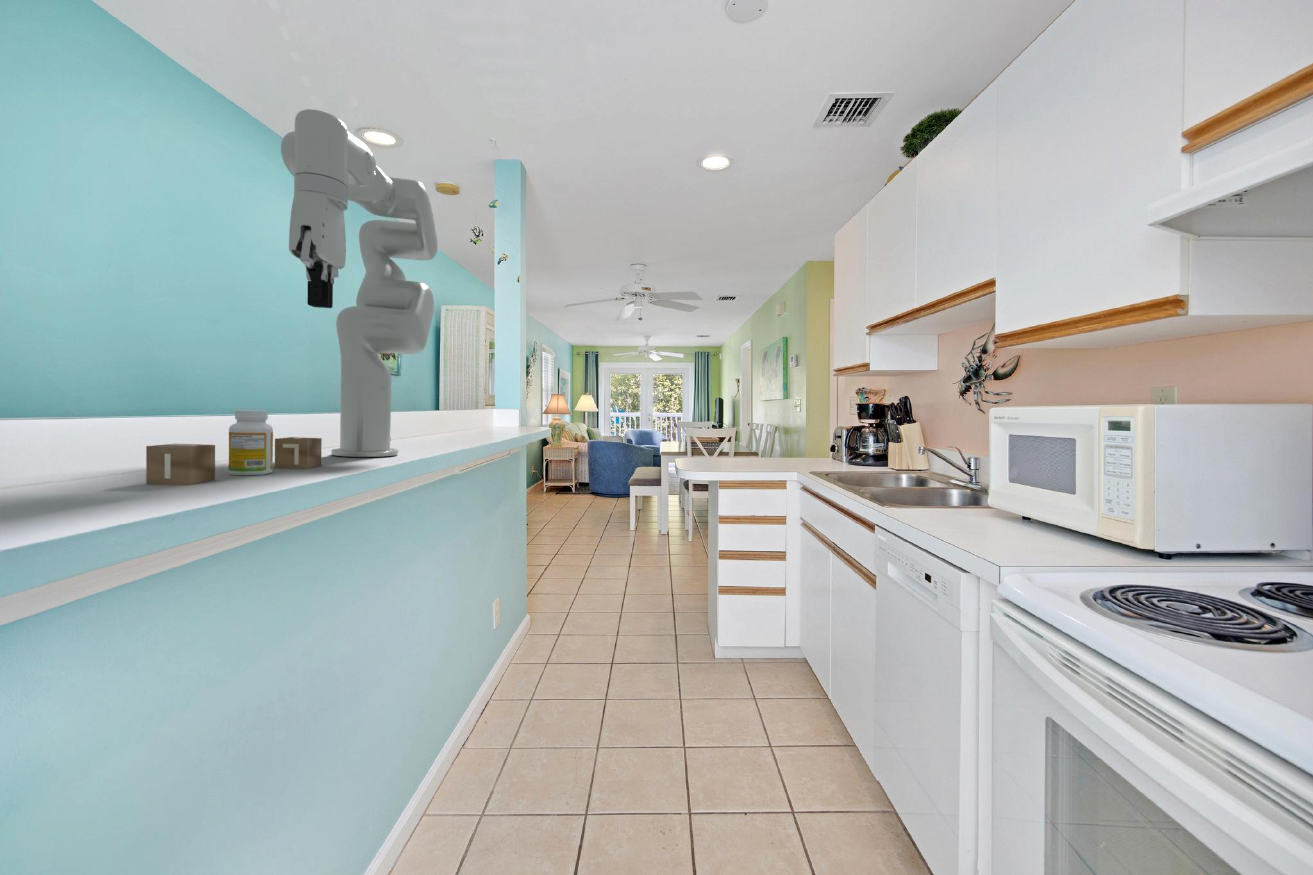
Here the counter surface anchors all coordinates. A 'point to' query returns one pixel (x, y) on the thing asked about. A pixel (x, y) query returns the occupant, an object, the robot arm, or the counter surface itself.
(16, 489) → the counter surface
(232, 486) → the counter surface
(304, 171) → the robot arm
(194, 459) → the walnut block
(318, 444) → the walnut block
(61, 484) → the counter surface
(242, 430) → the supplement bottle
